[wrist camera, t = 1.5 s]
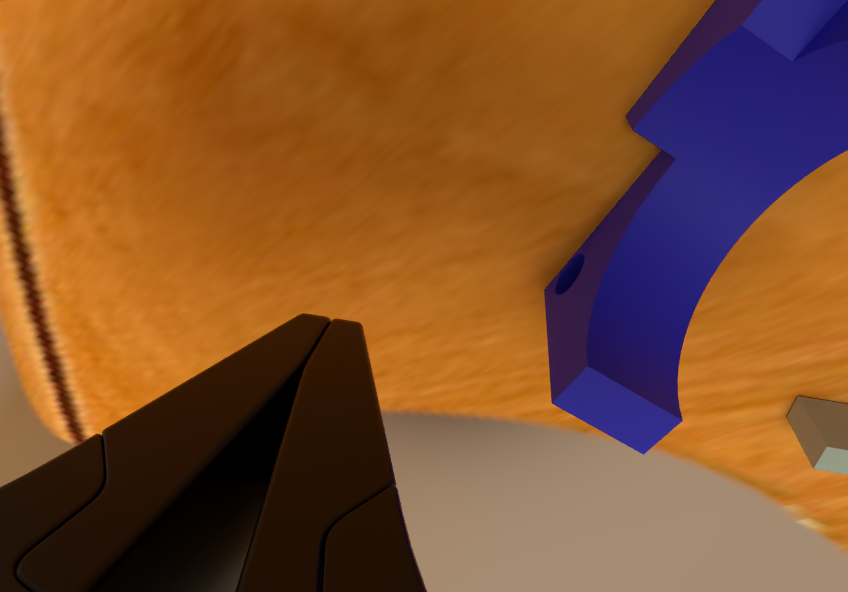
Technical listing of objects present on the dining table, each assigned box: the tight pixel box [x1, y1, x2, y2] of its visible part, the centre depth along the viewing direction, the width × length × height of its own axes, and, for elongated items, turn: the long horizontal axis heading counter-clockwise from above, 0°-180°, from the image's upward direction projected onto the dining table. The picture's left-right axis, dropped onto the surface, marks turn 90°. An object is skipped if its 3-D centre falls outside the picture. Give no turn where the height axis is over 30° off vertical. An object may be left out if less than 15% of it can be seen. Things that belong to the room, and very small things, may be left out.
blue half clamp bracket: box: [544, 0, 848, 454], centre depth 17 cm, size 12×4×6 cm, turn 150°
